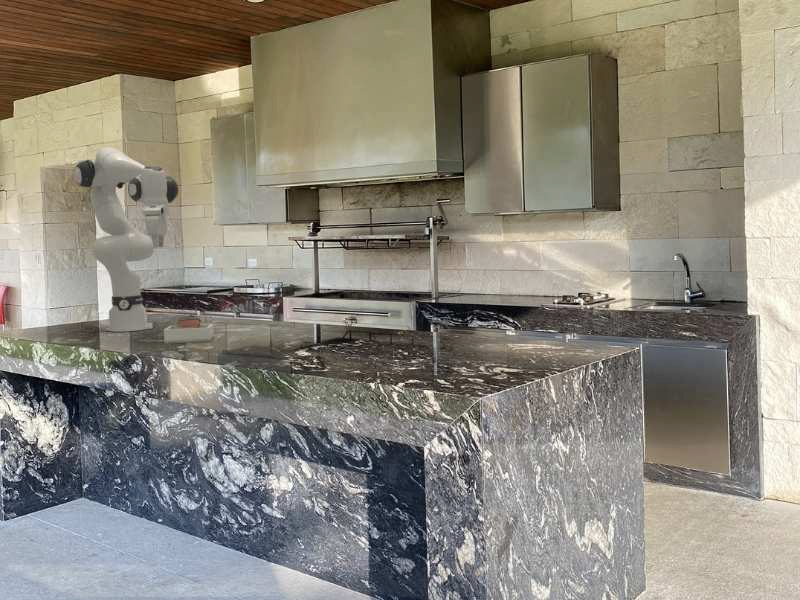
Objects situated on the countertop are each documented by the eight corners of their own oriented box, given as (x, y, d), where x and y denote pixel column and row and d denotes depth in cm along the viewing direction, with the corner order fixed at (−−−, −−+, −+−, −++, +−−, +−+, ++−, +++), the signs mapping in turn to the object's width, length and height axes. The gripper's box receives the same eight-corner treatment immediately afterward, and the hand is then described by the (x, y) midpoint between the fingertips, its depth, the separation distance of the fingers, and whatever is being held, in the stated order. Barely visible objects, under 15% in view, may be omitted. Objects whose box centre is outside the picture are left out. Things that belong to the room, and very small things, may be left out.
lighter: (199, 336, 312) (202, 319, 319) (198, 330, 310) (200, 312, 317) (177, 338, 311) (180, 320, 319) (175, 332, 309) (178, 314, 317)
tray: (170, 339, 318) (169, 325, 317) (214, 337, 319) (213, 323, 319) (164, 343, 306) (163, 329, 305) (209, 341, 307) (209, 327, 307)
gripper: (153, 211, 326) (155, 247, 327) (141, 210, 306) (144, 248, 307) (169, 210, 327) (172, 246, 328) (159, 209, 306) (161, 248, 308)
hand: (158, 247), depth 317 cm, fingers open, 8 cm apart
